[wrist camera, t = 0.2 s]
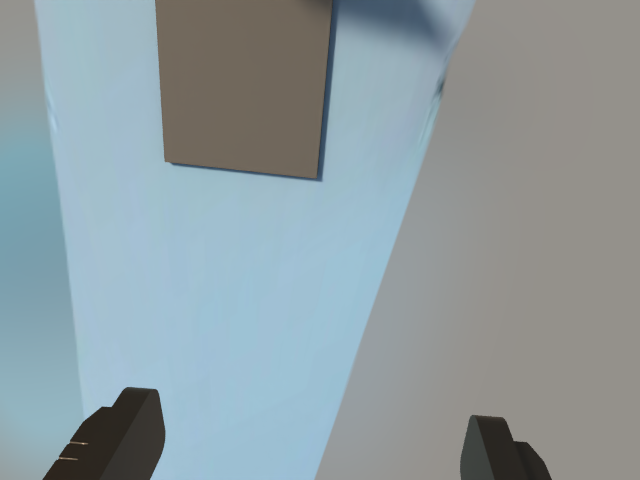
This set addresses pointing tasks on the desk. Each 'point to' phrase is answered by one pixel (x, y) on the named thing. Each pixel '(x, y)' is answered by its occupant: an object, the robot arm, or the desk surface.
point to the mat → (243, 82)
